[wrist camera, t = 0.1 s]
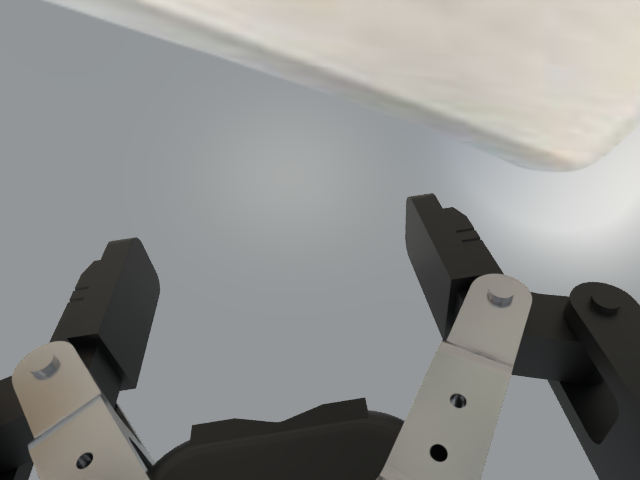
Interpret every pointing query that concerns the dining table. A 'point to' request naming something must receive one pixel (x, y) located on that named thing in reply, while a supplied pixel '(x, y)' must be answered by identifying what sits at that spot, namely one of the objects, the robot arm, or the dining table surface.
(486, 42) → the dining table surface
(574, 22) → the dining table surface
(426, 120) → the dining table surface
